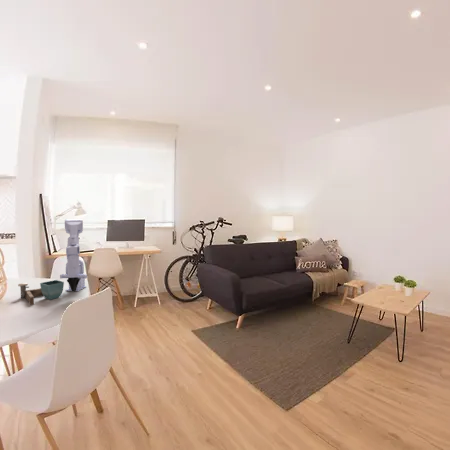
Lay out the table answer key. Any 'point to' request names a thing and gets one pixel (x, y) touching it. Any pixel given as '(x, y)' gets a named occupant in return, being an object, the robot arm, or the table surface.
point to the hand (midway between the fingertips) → (74, 290)
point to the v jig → (29, 293)
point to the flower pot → (52, 289)
